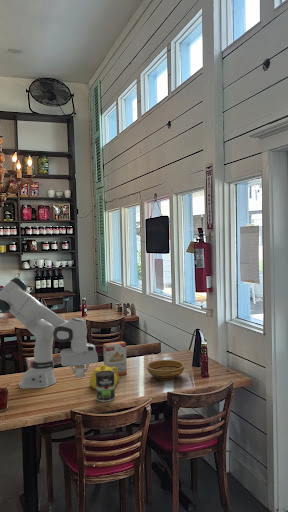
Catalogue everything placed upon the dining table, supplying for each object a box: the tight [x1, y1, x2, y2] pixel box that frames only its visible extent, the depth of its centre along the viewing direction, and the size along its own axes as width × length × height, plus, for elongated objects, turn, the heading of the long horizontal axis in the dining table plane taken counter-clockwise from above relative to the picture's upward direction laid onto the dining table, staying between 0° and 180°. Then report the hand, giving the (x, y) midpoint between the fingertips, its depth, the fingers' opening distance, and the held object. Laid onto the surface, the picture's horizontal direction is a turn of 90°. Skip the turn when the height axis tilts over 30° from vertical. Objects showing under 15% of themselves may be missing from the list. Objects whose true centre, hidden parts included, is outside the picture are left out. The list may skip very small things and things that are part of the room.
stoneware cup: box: [74, 364, 86, 379], centre depth 241 cm, size 5×5×6 cm
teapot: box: [89, 364, 120, 390], centre depth 260 cm, size 20×19×13 cm
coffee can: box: [95, 371, 116, 403], centre depth 240 cm, size 10×10×14 cm
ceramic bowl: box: [145, 359, 186, 381], centre depth 273 cm, size 30×24×8 cm
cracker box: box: [102, 341, 128, 377], centre depth 281 cm, size 14×6×21 cm, turn 115°
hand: (79, 372), depth 241 cm, fingers closed on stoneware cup, 5 cm apart
